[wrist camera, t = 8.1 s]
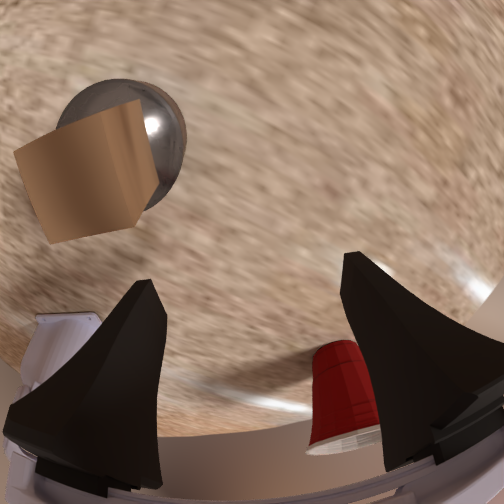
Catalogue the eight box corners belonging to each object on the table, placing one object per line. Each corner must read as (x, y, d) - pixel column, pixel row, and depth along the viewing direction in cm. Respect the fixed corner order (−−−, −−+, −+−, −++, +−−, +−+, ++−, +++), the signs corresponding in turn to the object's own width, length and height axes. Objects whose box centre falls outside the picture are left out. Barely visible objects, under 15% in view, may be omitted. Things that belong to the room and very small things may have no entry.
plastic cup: (273, 372, 32) (284, 464, 22) (325, 317, 27) (358, 429, 17) (340, 380, 35) (359, 456, 26) (393, 334, 30) (428, 419, 20)
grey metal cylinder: (94, 205, 19) (78, 226, 16) (64, 101, 14) (40, 108, 11) (201, 184, 19) (196, 203, 16) (179, 63, 14) (168, 60, 11)
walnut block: (88, 199, 15) (50, 244, 11) (65, 125, 12) (13, 151, 8) (159, 182, 15) (134, 227, 11) (139, 98, 12) (100, 112, 8)
